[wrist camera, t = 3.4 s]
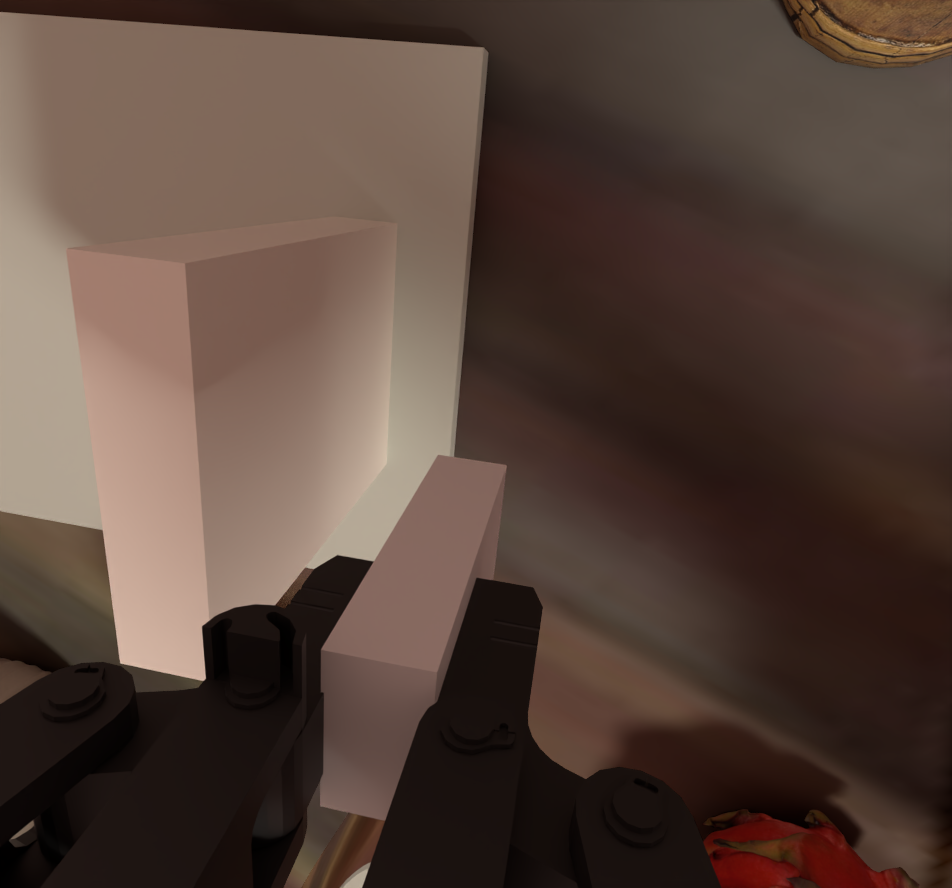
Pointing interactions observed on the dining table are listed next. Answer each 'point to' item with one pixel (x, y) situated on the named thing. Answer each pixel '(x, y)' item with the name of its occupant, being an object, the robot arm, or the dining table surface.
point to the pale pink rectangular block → (229, 413)
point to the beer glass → (347, 854)
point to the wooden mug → (875, 30)
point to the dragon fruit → (790, 855)
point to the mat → (227, 211)
